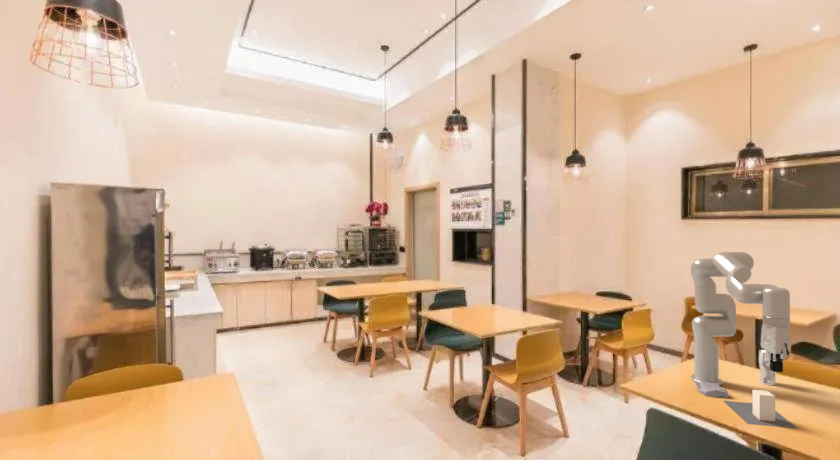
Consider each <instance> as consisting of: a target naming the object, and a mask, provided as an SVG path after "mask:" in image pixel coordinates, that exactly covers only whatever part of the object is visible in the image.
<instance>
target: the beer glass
mask: <svg viewBox="0 0 840 460" xmlns="http://www.w3.org/2000/svg"><path fill="white" fill-rule="evenodd" d="M758 366H759V371H760V378H759V382H760V383H761V384H763V385H767V386H773V385H774V386H777V385H778V383H777V378H776V377H777V372H773V371H771V370H770V358H769V353H768V351H767V350H765V349H759V350H758Z"/></svg>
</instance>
